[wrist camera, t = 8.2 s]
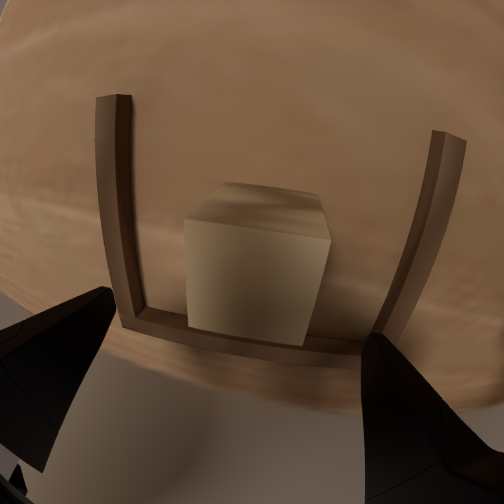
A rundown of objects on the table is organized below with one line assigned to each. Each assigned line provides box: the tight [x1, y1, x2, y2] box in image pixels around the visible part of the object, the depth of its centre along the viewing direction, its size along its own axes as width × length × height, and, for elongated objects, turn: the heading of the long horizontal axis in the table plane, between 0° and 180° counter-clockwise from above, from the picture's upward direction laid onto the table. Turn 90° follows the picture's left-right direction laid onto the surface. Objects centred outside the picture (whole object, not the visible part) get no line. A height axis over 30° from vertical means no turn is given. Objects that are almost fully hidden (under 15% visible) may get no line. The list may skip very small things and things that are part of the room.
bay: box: [95, 94, 467, 369], centre depth 15 cm, size 20×16×2 cm
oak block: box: [184, 181, 331, 346], centre depth 13 cm, size 5×5×6 cm
